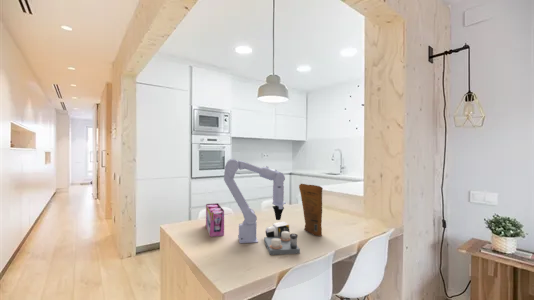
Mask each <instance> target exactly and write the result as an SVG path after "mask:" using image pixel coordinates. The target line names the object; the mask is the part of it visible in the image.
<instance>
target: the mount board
mask: <svg viewBox="0 0 534 300" xmlns="http://www.w3.org/2000/svg"><path fill="white" fill-rule="evenodd" d="M273 238H279V239H281V237H267V236H265V237H263V239H264V240H263V242H264V244H265V246H266V248H267V252H268V253H269V256H274V255H292V254H293V255H294V254H295V255H296V254H300V253H301V248H300V246H298V245H297V248H296V249H292V248H290V239H289V240H283V239H281V247H279V248H273V247H272V246H271V239H273Z"/></svg>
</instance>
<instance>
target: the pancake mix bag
mask: <svg viewBox="0 0 534 300" xmlns="http://www.w3.org/2000/svg"><path fill="white" fill-rule="evenodd" d="M298 187H299V188H298V189H299V192H300V198H301V203H302V211H303V218H304V219H303V220H304V223H305V225H304V229H303V231H304V232H307V233H309V234H312V235H314V236H316V237H322V236H323V233H322V232H323V229H322V228H323V227H322V220H323V219H322V218H323V187H322V186H319V185H315V184H307V183H306V184H305V183H300V184H299V185H298Z"/></svg>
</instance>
